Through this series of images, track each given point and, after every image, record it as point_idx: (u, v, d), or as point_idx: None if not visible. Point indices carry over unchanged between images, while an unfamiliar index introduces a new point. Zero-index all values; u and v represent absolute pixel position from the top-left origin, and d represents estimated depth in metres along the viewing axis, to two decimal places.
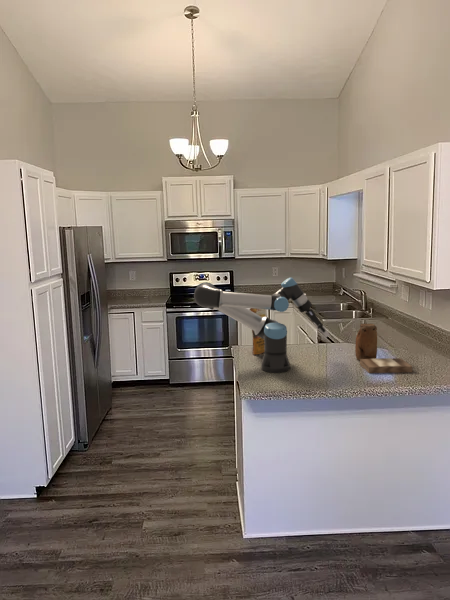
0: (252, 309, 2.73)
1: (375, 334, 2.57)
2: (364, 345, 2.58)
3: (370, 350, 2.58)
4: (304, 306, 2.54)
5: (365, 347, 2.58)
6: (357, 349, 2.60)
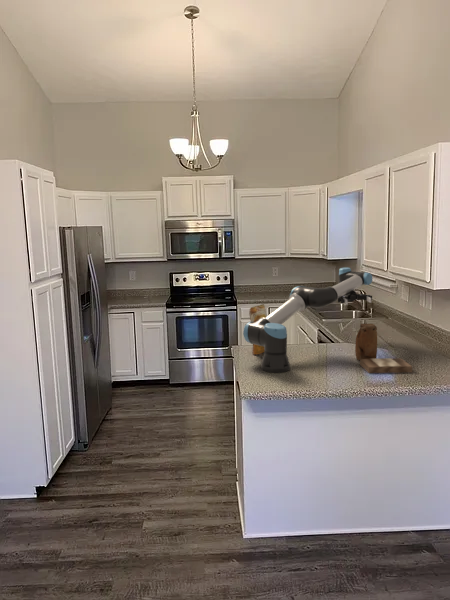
0: (252, 309, 2.73)
1: (375, 334, 2.57)
2: (364, 345, 2.58)
3: (370, 350, 2.58)
4: None
5: (365, 347, 2.58)
6: (357, 349, 2.60)
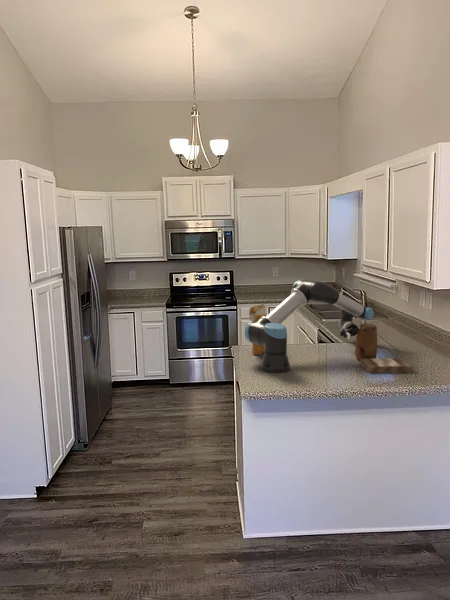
0: (252, 309, 2.73)
1: (375, 334, 2.57)
2: (364, 345, 2.58)
3: (370, 350, 2.58)
4: None
5: (365, 347, 2.58)
6: (357, 349, 2.60)
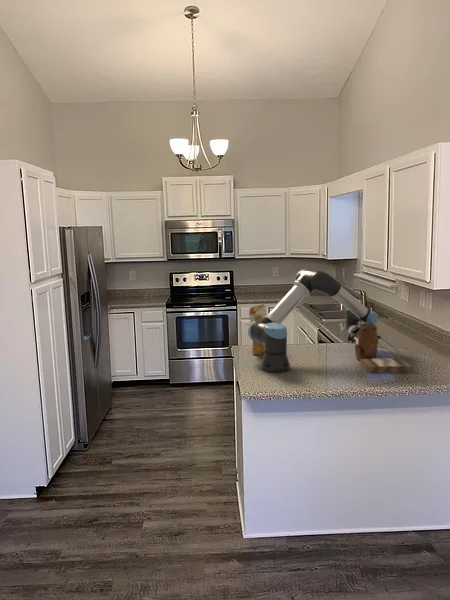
0: (252, 309, 2.73)
1: (375, 334, 2.57)
2: (364, 345, 2.58)
3: (370, 350, 2.58)
4: None
5: (365, 347, 2.58)
6: (357, 349, 2.60)
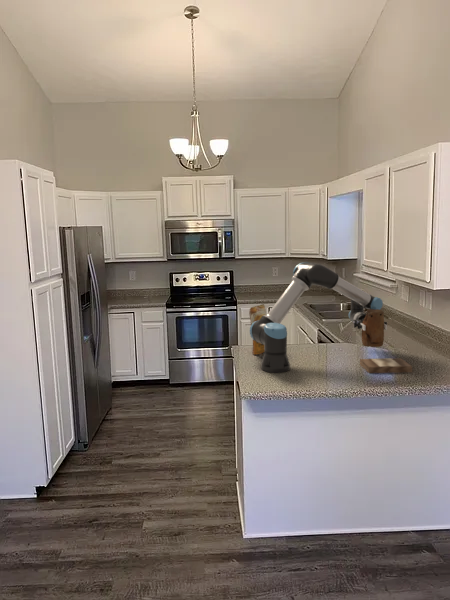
0: (252, 309, 2.73)
1: (382, 320, 2.52)
2: (371, 331, 2.52)
3: (377, 336, 2.53)
4: None
5: (372, 333, 2.52)
6: (363, 335, 2.55)
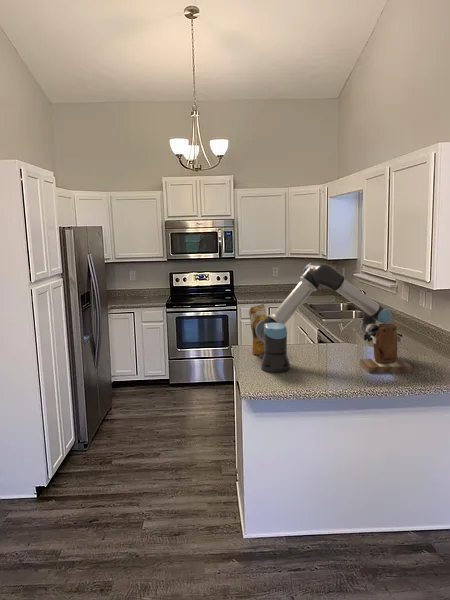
0: (252, 309, 2.73)
1: (395, 334, 2.41)
2: (383, 346, 2.41)
3: (390, 352, 2.42)
4: None
5: (384, 349, 2.41)
6: (376, 351, 2.44)
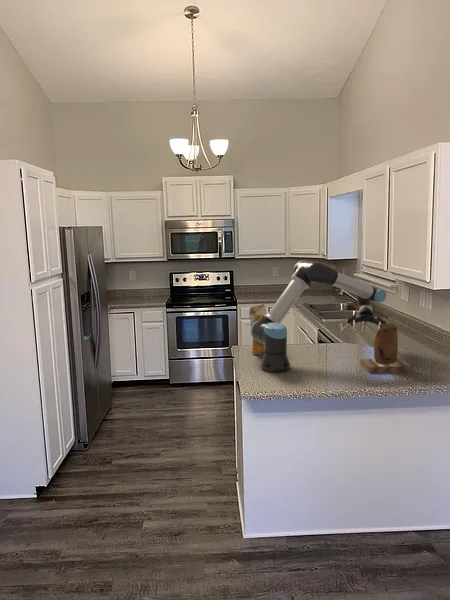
0: (252, 309, 2.73)
1: (395, 335, 2.41)
2: (384, 346, 2.41)
3: (390, 352, 2.42)
4: (372, 314, 2.70)
5: (385, 349, 2.41)
6: (376, 351, 2.44)
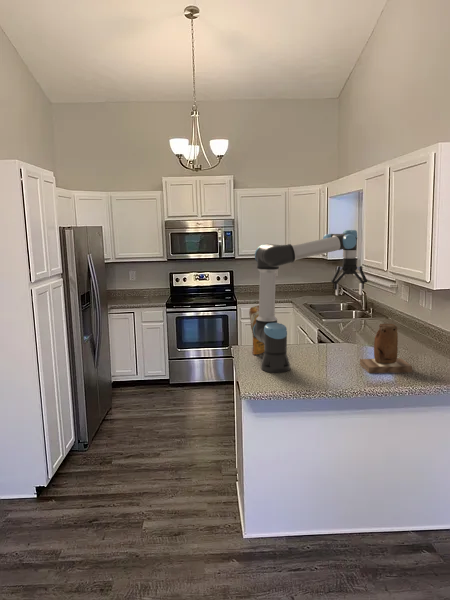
0: (252, 309, 2.73)
1: (395, 335, 2.41)
2: (384, 346, 2.41)
3: (390, 352, 2.42)
4: None
5: (385, 349, 2.41)
6: (376, 351, 2.44)
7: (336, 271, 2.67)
